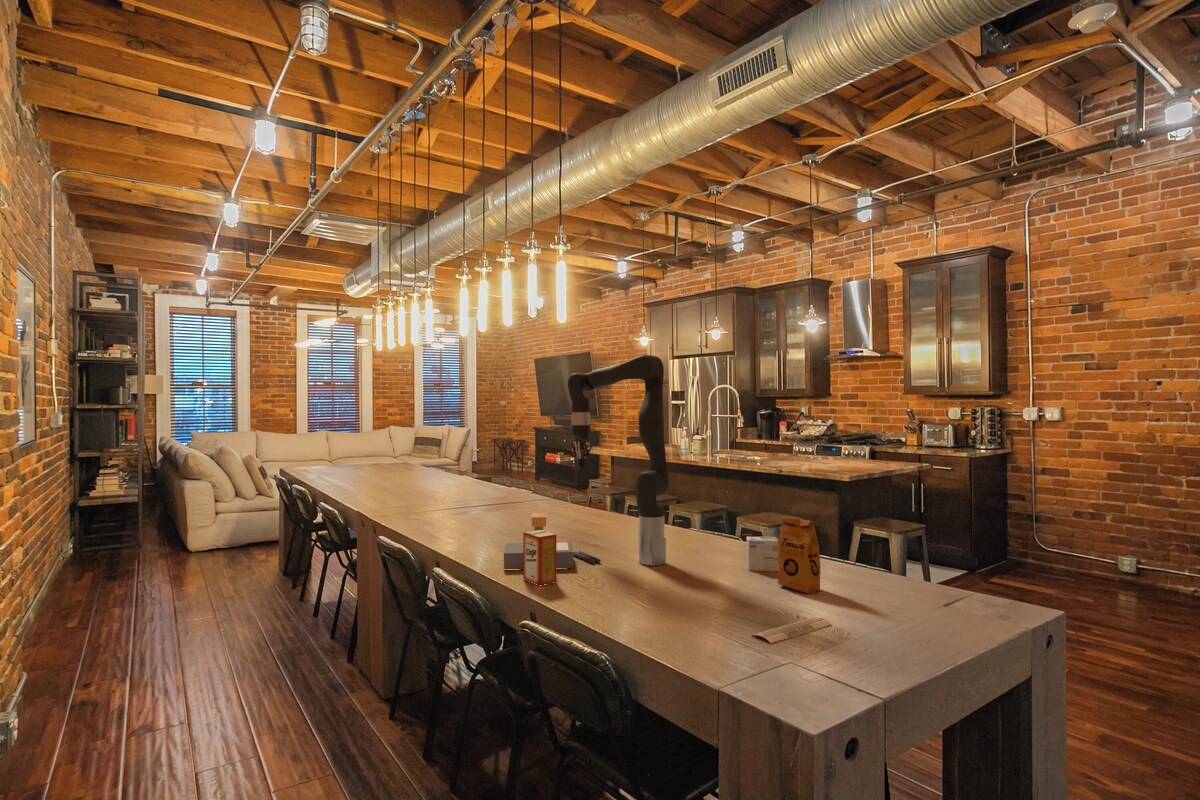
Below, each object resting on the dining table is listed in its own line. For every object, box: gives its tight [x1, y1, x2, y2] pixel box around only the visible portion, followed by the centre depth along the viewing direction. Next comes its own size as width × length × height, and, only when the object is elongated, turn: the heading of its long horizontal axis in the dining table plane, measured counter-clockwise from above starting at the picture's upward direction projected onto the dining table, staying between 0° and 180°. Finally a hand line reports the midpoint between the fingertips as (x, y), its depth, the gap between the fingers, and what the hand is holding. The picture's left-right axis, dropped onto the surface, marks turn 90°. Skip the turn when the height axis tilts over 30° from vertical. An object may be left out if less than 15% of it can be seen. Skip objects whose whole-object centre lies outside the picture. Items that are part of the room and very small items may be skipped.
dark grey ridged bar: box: [573, 550, 602, 565], centre depth 237 cm, size 16×4×2 cm, turn 31°
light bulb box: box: [745, 536, 779, 572], centre depth 224 cm, size 11×7×11 cm, turn 84°
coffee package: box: [777, 516, 821, 595], centre depth 201 cm, size 10×12×22 cm
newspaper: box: [751, 616, 832, 645], centre depth 164 cm, size 24×7×2 cm, turn 124°
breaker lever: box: [531, 512, 547, 531], centre depth 227 cm, size 2×5×13 cm, turn 95°
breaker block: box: [503, 541, 574, 570], centre depth 230 cm, size 16×24×9 cm, turn 95°
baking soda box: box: [522, 529, 557, 587], centre depth 208 cm, size 10×6×16 cm
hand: (581, 468), depth 251 cm, fingers closed
